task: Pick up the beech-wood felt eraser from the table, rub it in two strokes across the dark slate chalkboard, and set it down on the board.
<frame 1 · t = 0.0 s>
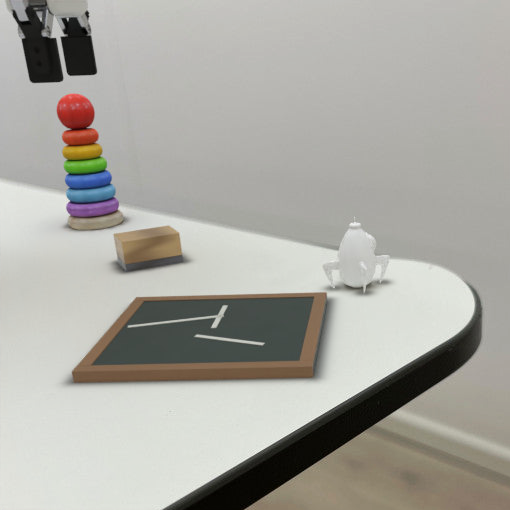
hand: (65, 78, 80), 22 cm above the table, tool pointing down, fingers open, 9 cm apart
stacking toy: (97, 226, 115), on the table
rocket toy: (357, 289, 84), on the table
chalkboard: (215, 340, 72), on the table
eraser: (151, 264, 95), on the table
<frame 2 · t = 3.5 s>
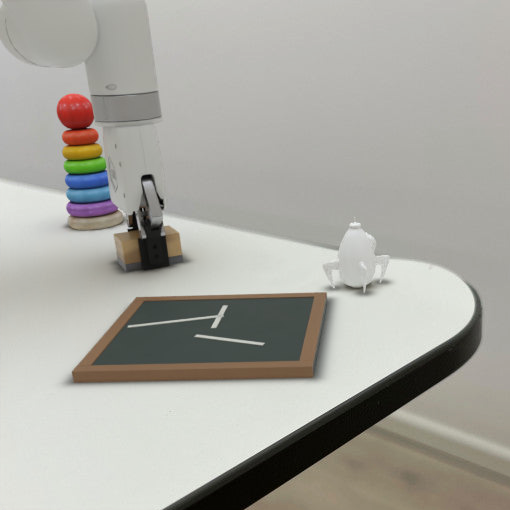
hand: (150, 261, 95), 0 cm above the table, tool pointing down, fingers closed on eraser, 4 cm apart
eraser: (151, 264, 95), on the table, touching gripper
everything else where it was.
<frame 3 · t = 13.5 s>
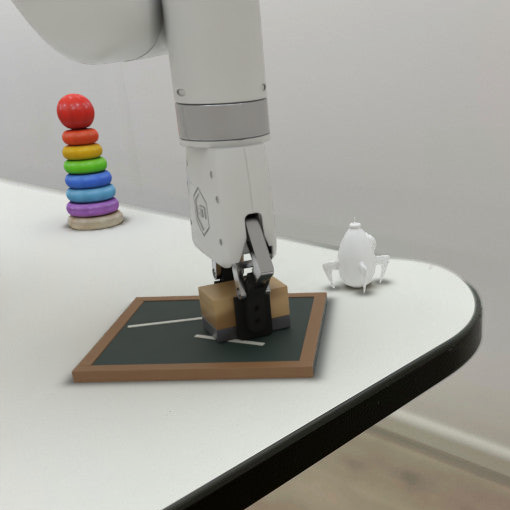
hand: (245, 325, 71), 1 cm above the table, tool pointing down, fingers closed on eraser, 4 cm apart
eraser: (246, 327, 71), point 1 cm above the table, touching gripper
everything else where it was.
when the fingers open (2 cm above the table, at t = 15.2 s): eraser stays where it is, resting on chalkboard.
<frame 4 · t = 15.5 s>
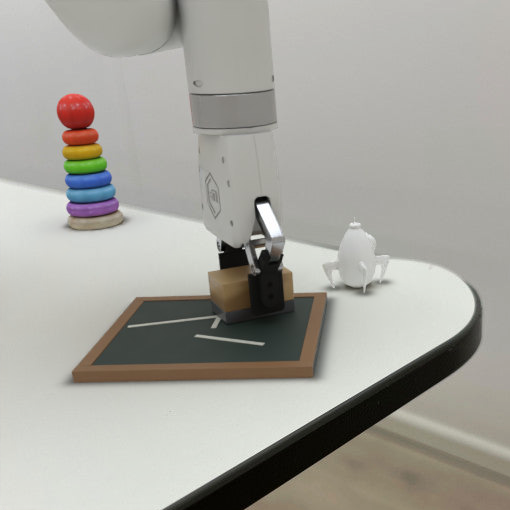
hand: (252, 299, 75), 2 cm above the table, tool pointing down, fingers open, 7 cm apart
eraser: (253, 310, 75), point 1 cm above the table, touching chalkboard
everything else where it was.
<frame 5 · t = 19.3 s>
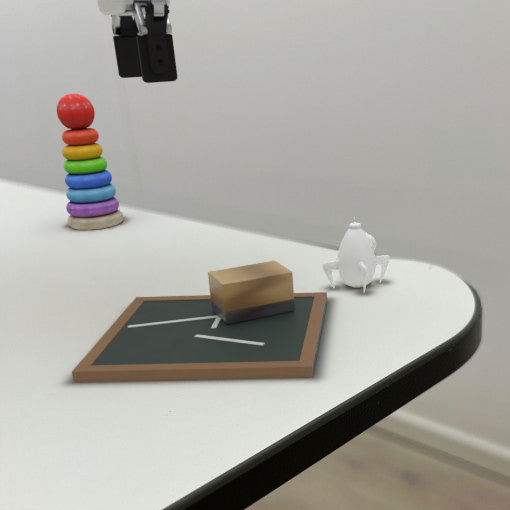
hand: (147, 79, 76), 22 cm above the table, tool pointing down, fingers open, 9 cm apart
nothing on the table moved.
at the end: eraser inside the target area on the chalkboard (0.5 cm from its centre), point 1.2 cm above the chalkboard's base; eraser tilted 1°; eraser moved 26.2 cm from its start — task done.
